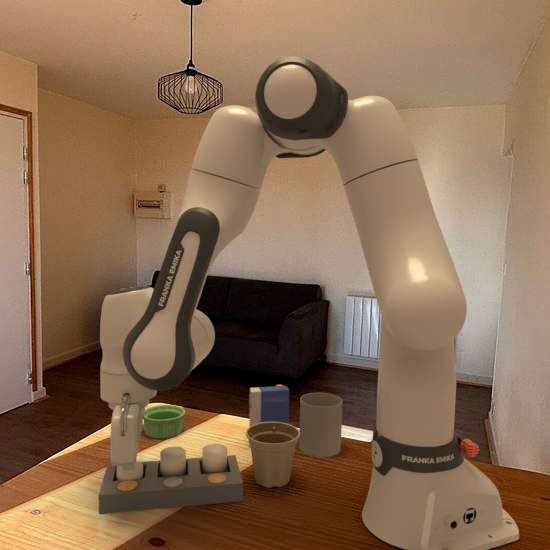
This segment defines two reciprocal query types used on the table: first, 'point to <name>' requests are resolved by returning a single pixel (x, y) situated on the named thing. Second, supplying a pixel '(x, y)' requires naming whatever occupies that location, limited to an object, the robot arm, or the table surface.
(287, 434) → the flower pot
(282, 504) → the table surface
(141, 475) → the button
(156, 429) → the ramekin
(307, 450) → the cup
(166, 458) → the button
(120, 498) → the board
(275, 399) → the walkman
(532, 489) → the table surface
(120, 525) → the table surface
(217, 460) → the button
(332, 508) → the table surface
